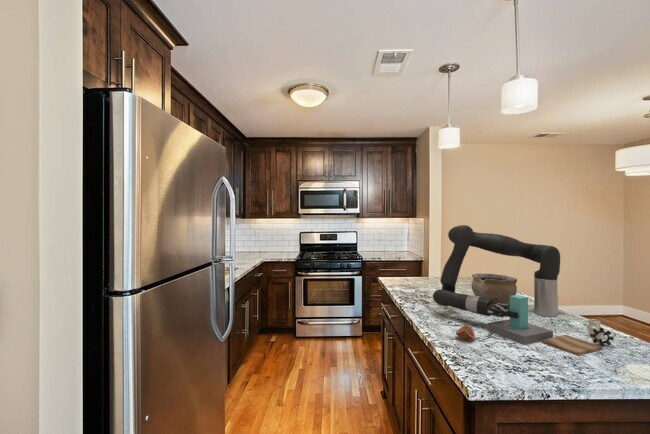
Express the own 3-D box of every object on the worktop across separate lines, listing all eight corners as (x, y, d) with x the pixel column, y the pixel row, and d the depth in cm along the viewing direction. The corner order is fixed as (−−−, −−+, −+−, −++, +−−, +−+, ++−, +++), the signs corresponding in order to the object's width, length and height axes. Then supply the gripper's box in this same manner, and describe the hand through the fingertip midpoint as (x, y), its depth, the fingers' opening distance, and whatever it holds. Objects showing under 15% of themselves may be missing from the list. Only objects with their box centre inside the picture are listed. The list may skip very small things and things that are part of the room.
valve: (582, 334, 127) (590, 344, 116) (582, 317, 127) (590, 326, 116) (603, 337, 124) (613, 348, 113) (603, 320, 124) (613, 329, 113)
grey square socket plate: (513, 325, 136) (513, 318, 136) (552, 338, 121) (552, 330, 121) (486, 330, 130) (486, 323, 130) (524, 344, 115) (524, 336, 115)
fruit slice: (472, 345, 115) (473, 331, 115) (453, 341, 119) (453, 327, 119) (476, 337, 122) (476, 325, 122) (458, 334, 126) (458, 321, 126)
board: (565, 337, 123) (565, 334, 123) (602, 349, 112) (602, 346, 112) (541, 342, 117) (541, 340, 117) (577, 355, 106) (577, 352, 106)
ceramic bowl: (462, 299, 179) (462, 273, 179) (493, 297, 186) (493, 271, 186) (494, 310, 158) (494, 280, 158) (527, 307, 164) (527, 278, 164)
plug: (517, 331, 129) (517, 294, 129) (527, 335, 125) (528, 297, 125) (509, 333, 127) (509, 295, 127) (520, 337, 123) (520, 298, 123)
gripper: (472, 299, 132) (515, 307, 120) (485, 293, 142) (527, 301, 130) (472, 317, 132) (515, 327, 120) (485, 310, 142) (527, 319, 130)
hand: (521, 313), depth 125 cm, fingers open, 8 cm apart
